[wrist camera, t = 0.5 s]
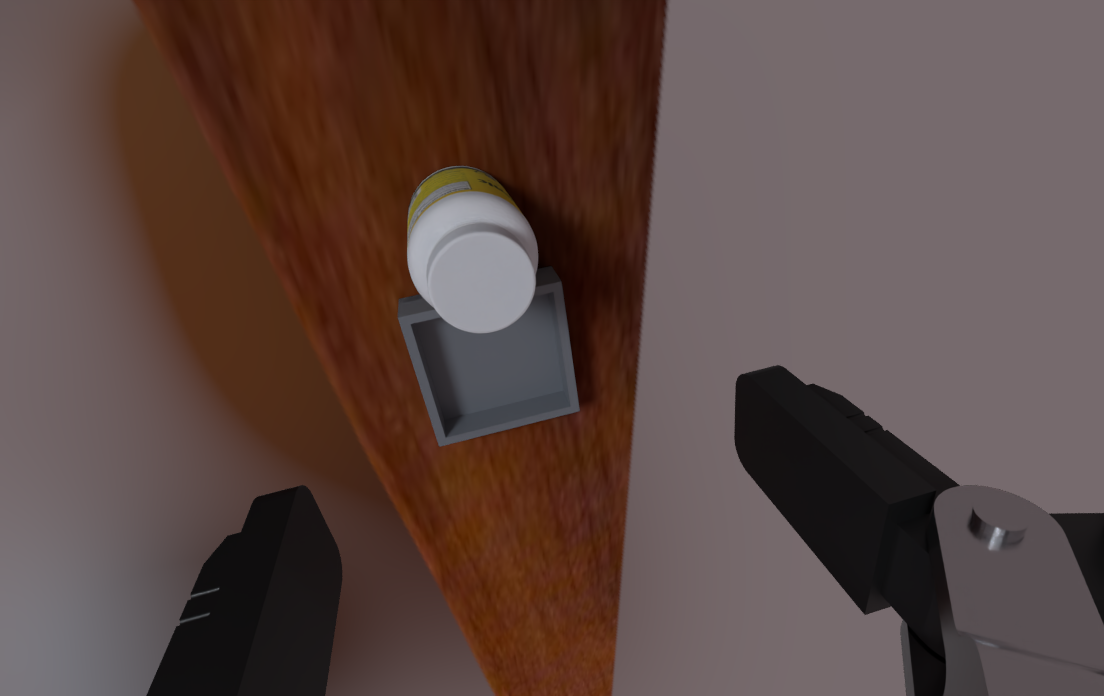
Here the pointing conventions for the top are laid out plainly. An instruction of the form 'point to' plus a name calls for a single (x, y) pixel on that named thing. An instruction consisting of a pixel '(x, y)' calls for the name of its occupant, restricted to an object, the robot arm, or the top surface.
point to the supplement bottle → (471, 250)
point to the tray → (493, 366)
